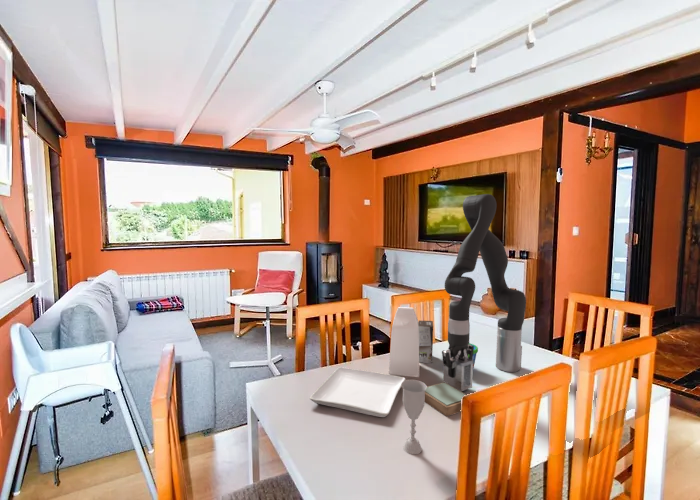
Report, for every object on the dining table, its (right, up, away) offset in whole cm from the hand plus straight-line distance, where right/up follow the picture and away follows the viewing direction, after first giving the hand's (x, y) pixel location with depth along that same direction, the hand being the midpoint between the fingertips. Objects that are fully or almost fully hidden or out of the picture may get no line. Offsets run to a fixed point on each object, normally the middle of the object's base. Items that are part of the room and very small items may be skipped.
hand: (457, 374), depth 139 cm
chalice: (-22, -9, -35) cm, 42 cm away
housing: (0, -4, 0) cm, 4 cm away
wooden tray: (-7, -6, -10) cm, 14 cm away
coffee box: (-7, -2, +28) cm, 29 cm away
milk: (-17, -3, +16) cm, 24 cm away
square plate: (-36, -6, -5) cm, 37 cm away
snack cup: (+7, -4, +16) cm, 18 cm away
